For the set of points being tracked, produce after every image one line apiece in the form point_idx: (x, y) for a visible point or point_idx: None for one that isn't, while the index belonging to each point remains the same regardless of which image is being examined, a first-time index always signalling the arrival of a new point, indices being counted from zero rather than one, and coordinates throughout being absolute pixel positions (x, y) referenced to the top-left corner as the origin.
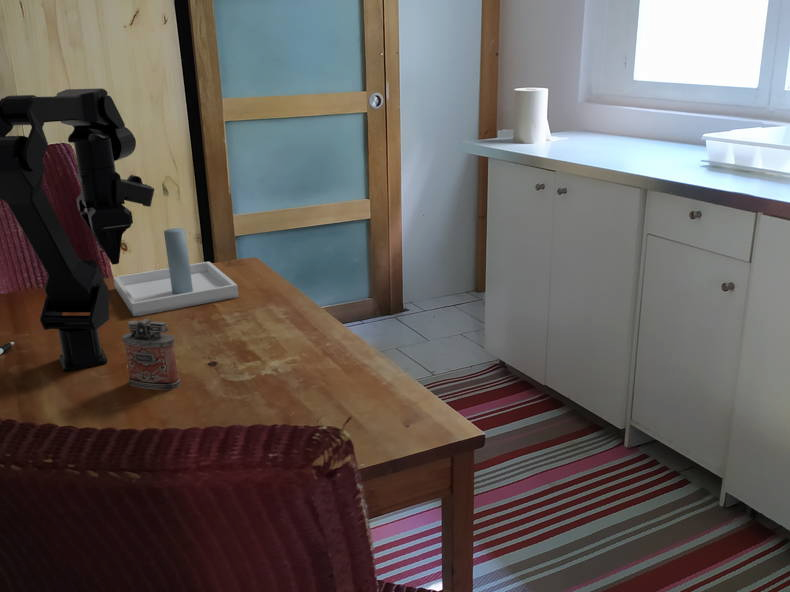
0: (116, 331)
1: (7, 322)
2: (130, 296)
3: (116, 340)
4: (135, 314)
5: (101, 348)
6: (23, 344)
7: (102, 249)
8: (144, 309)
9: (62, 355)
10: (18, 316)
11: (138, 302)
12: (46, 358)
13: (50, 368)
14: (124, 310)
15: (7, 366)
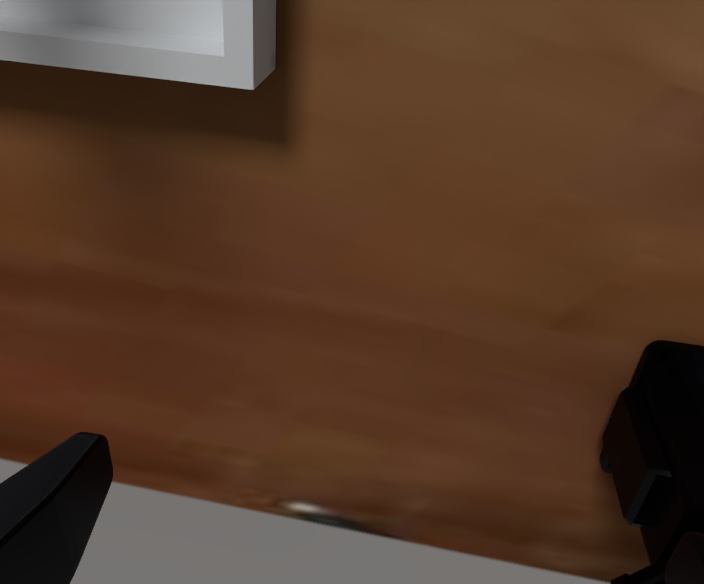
0: (447, 214)
1: None
2: (85, 48)
3: (577, 252)
4: (272, 61)
5: (676, 350)
6: (343, 492)
7: (100, 508)
8: (265, 1)
9: (607, 462)
10: (14, 434)
11: (244, 43)
12: (550, 483)
13: None
14: (129, 79)
15: (522, 563)
